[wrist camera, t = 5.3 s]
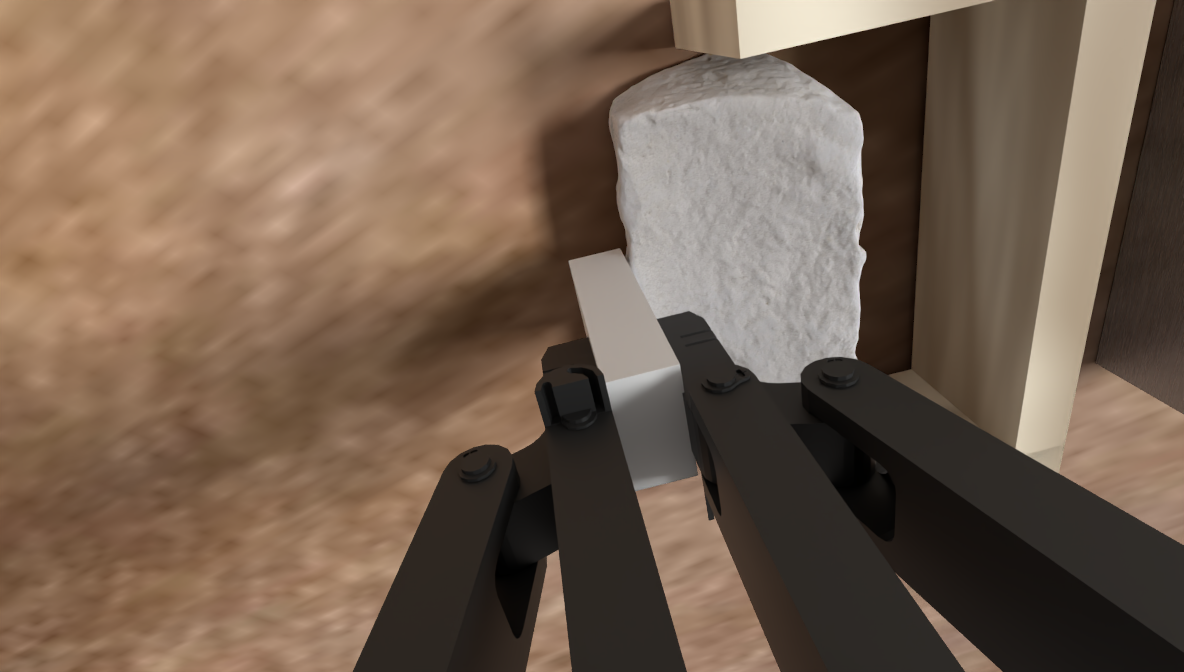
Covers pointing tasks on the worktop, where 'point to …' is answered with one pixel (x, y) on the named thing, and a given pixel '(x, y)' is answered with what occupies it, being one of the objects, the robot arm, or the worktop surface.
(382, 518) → the worktop surface
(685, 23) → the cradle
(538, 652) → the worktop surface
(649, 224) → the grey stone block
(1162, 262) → the wall
